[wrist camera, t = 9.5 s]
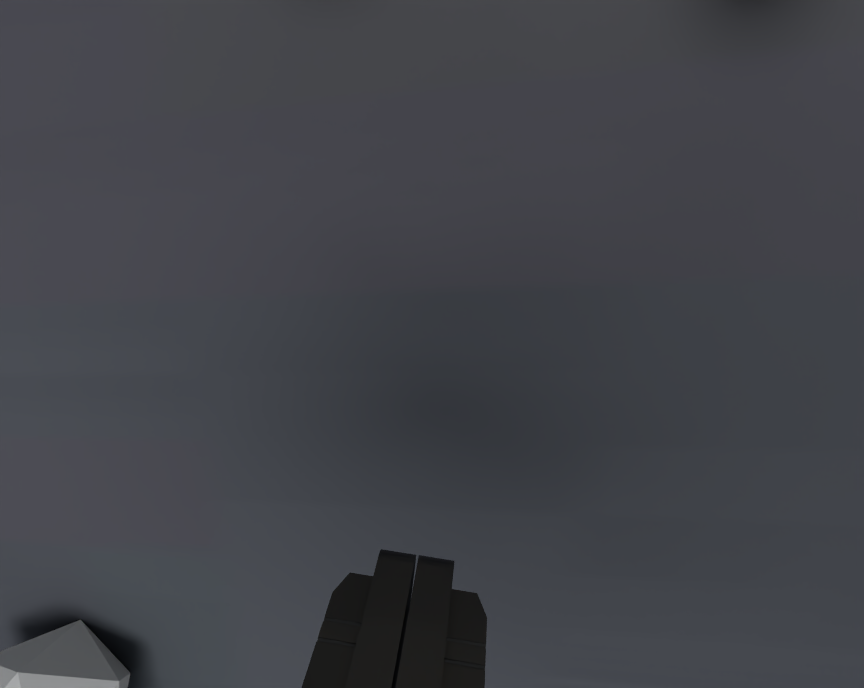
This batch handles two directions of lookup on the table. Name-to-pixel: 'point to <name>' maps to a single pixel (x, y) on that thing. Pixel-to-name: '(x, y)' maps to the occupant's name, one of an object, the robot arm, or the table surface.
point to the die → (62, 661)
